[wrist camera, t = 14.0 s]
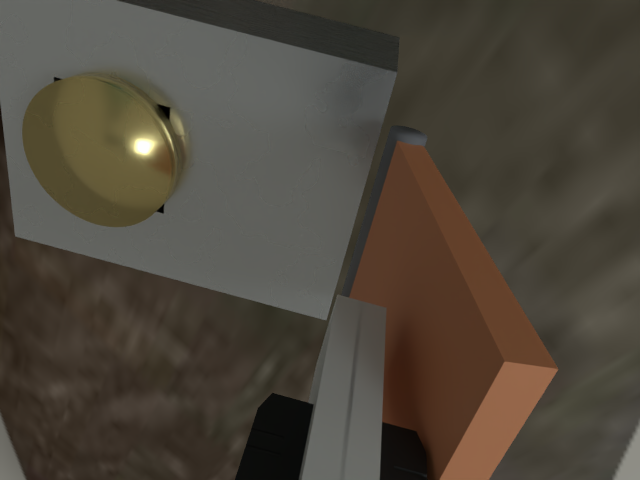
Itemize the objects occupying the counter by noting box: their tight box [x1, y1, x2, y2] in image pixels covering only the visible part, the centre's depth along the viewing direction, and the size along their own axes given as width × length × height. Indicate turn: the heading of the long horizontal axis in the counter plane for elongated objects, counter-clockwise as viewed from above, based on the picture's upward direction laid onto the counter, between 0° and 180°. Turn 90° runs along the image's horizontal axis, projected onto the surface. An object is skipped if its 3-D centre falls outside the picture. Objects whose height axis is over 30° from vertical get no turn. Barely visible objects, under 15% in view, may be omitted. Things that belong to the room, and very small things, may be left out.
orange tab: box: [341, 126, 558, 480], centre depth 16 cm, size 8×12×1 cm
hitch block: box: [0, 0, 400, 320], centre depth 26 cm, size 12×16×11 cm
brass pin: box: [22, 73, 182, 227], centre depth 26 cm, size 6×6×12 cm
